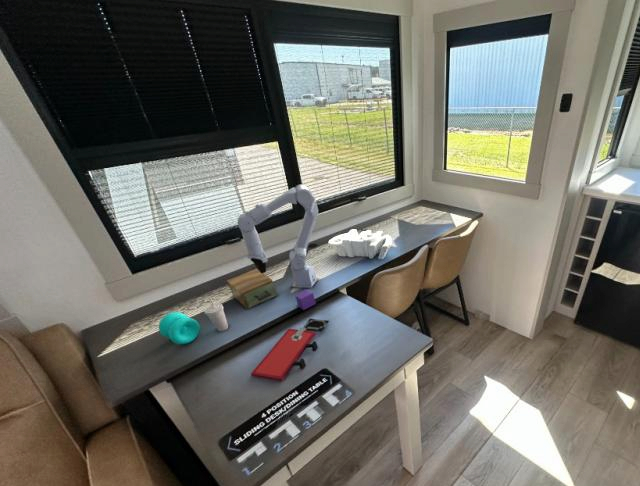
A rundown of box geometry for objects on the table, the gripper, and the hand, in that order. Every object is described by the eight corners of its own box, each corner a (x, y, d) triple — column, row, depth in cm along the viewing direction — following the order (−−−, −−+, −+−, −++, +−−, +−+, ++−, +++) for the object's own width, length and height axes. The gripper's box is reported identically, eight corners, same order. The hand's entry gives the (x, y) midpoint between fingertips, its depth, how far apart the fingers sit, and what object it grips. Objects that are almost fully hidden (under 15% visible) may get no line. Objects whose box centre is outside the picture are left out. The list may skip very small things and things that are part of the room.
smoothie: (235, 324, 123) (222, 294, 116) (223, 334, 119) (208, 304, 111) (222, 321, 125) (208, 292, 117) (210, 332, 120) (194, 302, 113)
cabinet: (277, 295, 140) (272, 279, 135) (247, 309, 132) (240, 292, 127) (261, 283, 149) (256, 268, 145) (233, 295, 141) (226, 280, 137)
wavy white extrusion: (399, 249, 171) (397, 231, 165) (388, 263, 158) (386, 244, 153) (341, 244, 182) (338, 227, 176) (327, 257, 169) (323, 238, 163)
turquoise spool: (179, 350, 112) (165, 329, 107) (165, 341, 117) (151, 320, 111) (205, 334, 119) (194, 313, 114) (191, 326, 124) (180, 306, 118)
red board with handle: (334, 323, 120) (299, 319, 124) (332, 317, 118) (297, 313, 122) (293, 384, 96) (252, 376, 100) (290, 377, 95) (249, 370, 99)
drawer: (281, 298, 136) (277, 286, 132) (253, 311, 129) (248, 299, 125) (262, 284, 147) (257, 272, 143) (235, 295, 140) (230, 283, 136)
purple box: (315, 303, 132) (313, 292, 129) (303, 310, 129) (300, 299, 126) (310, 300, 135) (307, 289, 132) (297, 306, 132) (294, 295, 128)
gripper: (236, 242, 132) (247, 270, 139) (251, 251, 123) (261, 281, 131) (252, 236, 136) (262, 264, 143) (268, 245, 127) (277, 274, 135)
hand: (263, 272), depth 137 cm, fingers closed
